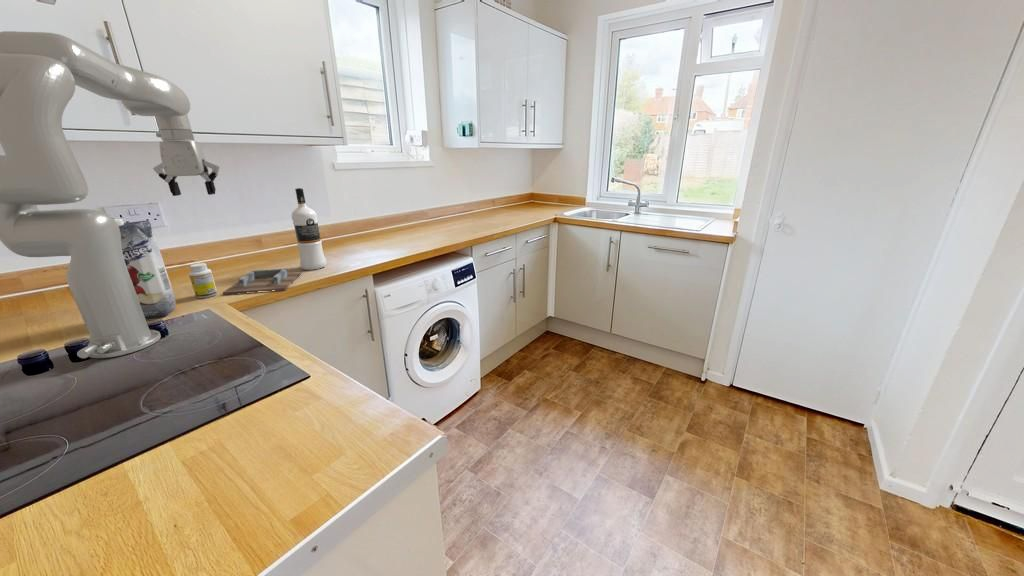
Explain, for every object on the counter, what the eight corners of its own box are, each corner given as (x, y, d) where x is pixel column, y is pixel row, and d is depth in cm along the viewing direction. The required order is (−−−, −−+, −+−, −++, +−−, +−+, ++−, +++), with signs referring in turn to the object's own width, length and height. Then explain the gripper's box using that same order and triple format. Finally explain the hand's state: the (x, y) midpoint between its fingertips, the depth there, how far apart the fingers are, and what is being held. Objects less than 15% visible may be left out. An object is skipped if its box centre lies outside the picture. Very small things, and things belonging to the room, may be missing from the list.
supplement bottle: (200, 293, 124) (191, 263, 121) (220, 291, 126) (212, 261, 122) (192, 299, 119) (182, 267, 116) (214, 297, 121) (204, 266, 117)
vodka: (322, 262, 157) (308, 186, 147) (330, 267, 151) (316, 188, 141) (297, 267, 151) (281, 188, 141) (305, 272, 145) (288, 190, 135)
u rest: (285, 290, 126) (282, 280, 125) (223, 295, 122) (220, 284, 121) (301, 274, 142) (300, 265, 141) (247, 278, 139) (245, 268, 138)
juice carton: (137, 312, 110) (102, 217, 101) (181, 306, 114) (151, 214, 105) (120, 324, 103) (80, 222, 94) (168, 318, 106) (135, 219, 97)
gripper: (135, 136, 111) (155, 197, 117) (203, 135, 114) (219, 195, 120) (152, 137, 118) (170, 194, 124) (216, 136, 121) (230, 192, 127)
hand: (194, 194), depth 122 cm, fingers open, 9 cm apart
